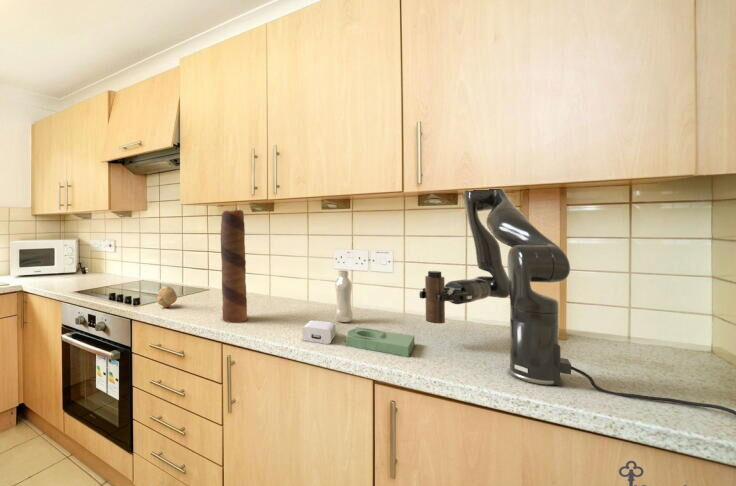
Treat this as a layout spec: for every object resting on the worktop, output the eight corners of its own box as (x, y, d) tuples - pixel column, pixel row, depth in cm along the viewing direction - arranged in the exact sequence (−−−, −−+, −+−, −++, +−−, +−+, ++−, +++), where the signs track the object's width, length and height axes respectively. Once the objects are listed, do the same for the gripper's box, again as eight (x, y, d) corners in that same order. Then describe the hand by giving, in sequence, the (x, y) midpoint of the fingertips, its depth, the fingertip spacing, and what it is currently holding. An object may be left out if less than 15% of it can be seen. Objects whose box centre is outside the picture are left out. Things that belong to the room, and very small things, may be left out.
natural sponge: (180, 305, 174) (180, 285, 173) (171, 310, 165) (170, 288, 165) (164, 304, 177) (164, 284, 177) (154, 308, 169) (153, 287, 169)
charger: (339, 331, 130) (330, 344, 117) (313, 328, 134) (302, 340, 121) (338, 318, 130) (330, 329, 117) (313, 315, 134) (302, 326, 121)
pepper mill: (445, 320, 114) (445, 271, 113) (444, 324, 109) (443, 273, 109) (426, 318, 117) (426, 270, 116) (424, 322, 112) (424, 272, 112)
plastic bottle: (340, 324, 139) (340, 272, 139) (332, 319, 146) (331, 270, 145) (356, 323, 140) (355, 271, 140) (346, 318, 147) (346, 269, 146)
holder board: (414, 345, 115) (414, 335, 115) (408, 357, 105) (408, 346, 105) (353, 334, 126) (353, 326, 126) (342, 344, 116) (342, 335, 116)
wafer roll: (223, 324, 142) (221, 209, 141) (220, 317, 152) (218, 210, 151) (249, 322, 143) (248, 209, 142) (244, 315, 154) (243, 210, 153)
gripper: (441, 277, 125) (408, 281, 118) (486, 283, 112) (452, 288, 105) (442, 298, 126) (408, 304, 118) (486, 307, 113) (452, 313, 105)
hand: (429, 296), depth 112 cm, fingers closed on pepper mill, 5 cm apart
